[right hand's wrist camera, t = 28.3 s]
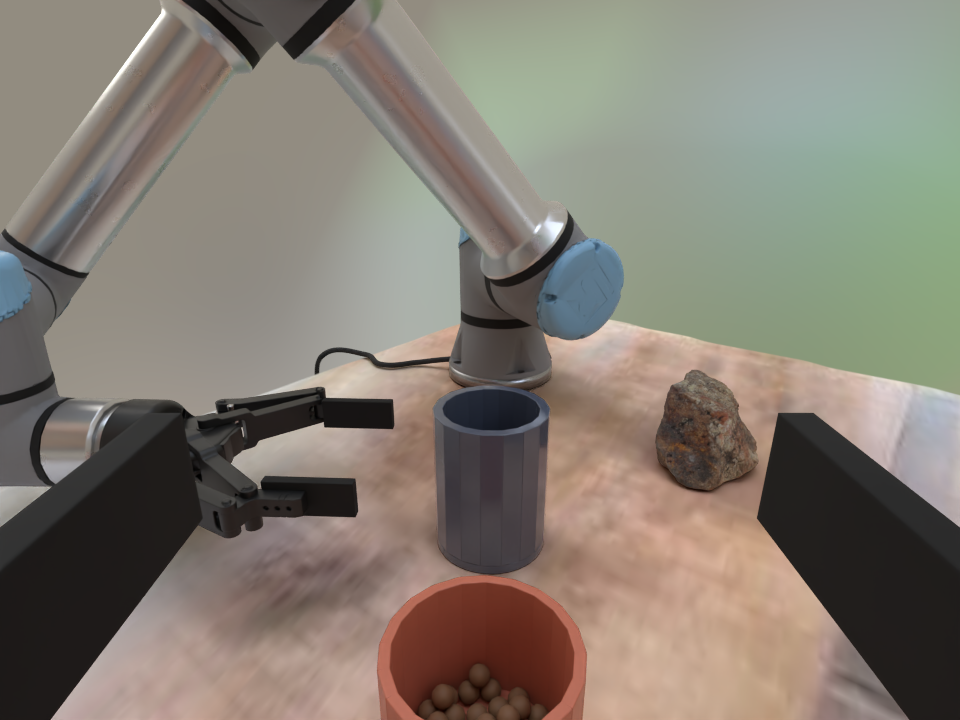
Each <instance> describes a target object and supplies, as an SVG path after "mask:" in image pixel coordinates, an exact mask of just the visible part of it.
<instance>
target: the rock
mask: <svg viewBox="0 0 960 720" xmlns="http://www.w3.org/2000/svg"><path fill="white" fill-rule="evenodd" d="M738 407H739V404H738V403H737V401H736V399H735V398H734V395H733V393H732V391H731V390H730V389H728V387H727V386H726V385H725V384H723V383H722V382H720V381H718V380H716V379H714V378H710V377H708V376H707V375H706V374H705V373H703V372H702V371H699V370H691V371H690V372H689V373H687V374H686V376H685V378H684V380H683V381H681V382H680V383H676V384H674V385H672V386H671V387H670V391H669V392H668V394H667V399H666V402H665V406H664V410H665V411H664V415H663V419H662V421H661V424H660V426H659V428H658V431H657V435H656V449H657V455H658V460H659V462H660V464H661V465H662V466H664V467H666V468H668V469H669V471H670V472H671V473H672V474H673V475H674V476H675V478H676V480H677V481H678V482H679V483H680V484H682V485H684V486H686V487H689V488H693V489H703V490H712V489H714V488H716V487H718V486H720V485H721V484H722V483H724V482H726V481H729V480H733V479H735V478H740V477H741V476H742V475H743V474H745V473H747V472H749V471H750V470H751V469H753V468H754V467H755V466H756V465H757V464H758V458H757V454H756V450H757V446H756V441H755V439H754V437H753V436H752V435H751V433H750V431H749V430H748V429H747V428H746V426H745V424H744V423H743V422H742V421H741V419H740V417H739V414H738Z"/></svg>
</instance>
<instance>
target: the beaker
mask: <svg viewBox="0 0 960 720" xmlns="http://www.w3.org/2000/svg"><path fill="white" fill-rule="evenodd" d="M549 425H550V408H549V406H548V405H547V403H546V402H545V400H544V399H542V398H540V397H539V396H537V395H536V394H534V393H531V392H528V391H525V390H522V389H519V388H513V387H506V386H475V387H468V388H462V389H459V390H456V391H453V392H450V393H448V394H446V395H445V396H443V397H442V398H440V399H439V400H438V401H437V402H436V404H435V405H434V407H433V434H434V465H435V497H436V528H437V541H438V546H439V548H440V550H441V552H442V554H443V555H444V556H445V557H446V558H447V559H448V560H449V561H450V562H452V563H453V564H455V565H456V566H458V567H461V568H463V569H466V570H468V571H472V572H476V573H483V574H499V573H506V572H511V571H514V570H517V569H520V568H522V567H524V566H526V565H527V564H529V563H531V562H532V561H533V560H534V559H535V558H536V557H537V556H538V555H539V553H540V551H541V549H542V547H543V542H544V530H545V509H546V488H547V467H548V446H549Z"/></svg>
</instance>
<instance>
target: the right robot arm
mask: <svg viewBox="0 0 960 720" xmlns="http://www.w3.org/2000/svg"><path fill="white" fill-rule="evenodd" d="M202 519H203V516H202V511H201V506H200V501H199V496H198V491H197V486H196V481H195V477H194V472H193V467H192V462H191V457H190V452H189V447H188V442H187V437H186V432H185V427H184V422H183V417H182V413H146V414H145V415H144V416H142V417H141V418H140V419H138V420H137V421H136V422H135V423H133V424H132V425H131V426H129V427H128V428H127V429H126V430H124V431H123V432H122V433H121V434H119V435H118V436H117V437H115V438H114V439H113V440H112V441H110V442H109V443H108V444H106V445H105V446H104V447H103V448H101V449H100V450H99V451H97V452H96V453H95V454H94V455H92V456H91V457H90V458H89V459H87V460H86V461H85V462H83V463H82V464H81V465H80V466H78V467H77V468H76V469H74V470H73V471H72V472H71V473H69V474H68V475H67V476H65V477H64V478H63V479H62V480H60V481H59V482H58V483H57V484H55V485H54V486H53V487H51V488H50V489H49V490H48V491H46V492H45V493H44V494H42V495H41V496H40V497H39V498H37V499H36V500H35V501H33V502H32V503H31V504H30V505H28V506H27V507H26V508H25V509H23V510H22V511H21V512H19V513H18V514H17V515H16V516H14V517H13V518H12V519H10V520H9V521H8V522H7V523H5V524H4V525H3V526H1V527H0V720H51V718H52V717H53V716H54V714H55V713H56V712H57V710H58V709H59V708H60V706H61V705H62V704H63V703H64V701H65V700H66V699H67V697H68V696H69V695H70V693H71V692H72V691H73V689H74V688H75V687H76V685H77V684H78V683H79V681H80V680H81V679H82V677H83V676H84V675H85V673H86V672H87V671H88V670H89V668H90V667H91V666H92V664H93V663H94V662H95V660H96V659H97V658H98V656H99V655H100V654H101V652H102V651H103V650H104V648H105V647H106V646H107V644H108V643H109V642H110V640H111V639H112V638H113V637H114V635H115V634H116V633H117V631H118V630H119V629H120V627H121V626H122V625H123V623H124V622H125V621H126V619H127V618H128V617H129V615H130V614H131V613H132V611H133V610H134V609H135V607H136V606H137V605H138V604H139V602H140V601H141V600H142V598H143V597H144V596H145V594H146V593H147V592H148V590H149V589H150V588H151V586H152V585H153V584H154V582H155V581H156V580H157V578H158V577H159V576H160V574H161V573H162V572H163V571H164V569H165V568H166V567H167V565H168V564H169V563H170V561H171V560H172V559H173V557H174V556H175V555H176V553H177V552H178V551H179V549H180V548H181V547H182V545H183V544H184V543H185V541H186V540H187V539H188V538H189V536H190V535H191V534H192V532H193V531H194V530H195V528H196V527H197V526H198V524H199V523H200V522H201V520H202ZM757 519H758V520H759V522H760V523H761V524H762V526H763V527H764V528H765V530H766V531H767V532H768V534H769V535H770V536H771V538H772V539H773V540H774V541H775V543H776V544H777V545H778V547H779V548H780V549H781V551H782V552H783V553H784V555H785V556H786V557H787V559H788V560H789V561H790V563H791V564H792V565H793V567H794V568H795V569H796V571H797V572H798V573H799V574H800V576H801V577H802V578H803V580H804V581H805V582H806V584H807V585H808V586H809V588H810V589H811V590H812V592H813V593H814V594H815V596H816V597H817V598H818V600H819V601H820V602H821V604H822V605H823V606H824V607H825V609H826V610H827V611H828V613H829V614H830V615H831V617H832V618H833V619H834V621H835V622H836V623H837V625H838V626H839V627H840V629H841V630H842V631H843V633H844V634H845V635H846V637H847V638H848V639H849V640H850V642H851V643H852V644H853V646H854V647H855V648H856V650H857V651H858V652H859V654H860V655H861V656H862V658H863V659H864V660H865V662H866V663H867V664H868V666H869V667H870V668H871V670H872V671H873V672H874V673H875V675H876V676H877V677H878V679H879V680H880V681H881V683H882V684H883V685H884V687H885V688H886V689H887V691H888V692H889V693H890V695H891V696H892V697H893V699H894V700H895V701H896V703H897V704H898V705H899V706H900V708H901V709H902V710H903V712H904V713H905V714H906V716H907V717H908V718H909V720H960V527H959V526H957V525H956V524H955V523H953V522H952V521H951V520H950V519H948V518H947V517H946V516H944V515H943V514H942V513H941V512H939V511H938V510H937V509H935V508H934V507H933V506H932V505H930V504H929V503H928V502H927V501H925V500H924V499H923V498H921V497H920V496H919V495H918V494H916V493H915V492H914V491H912V490H911V489H910V488H909V487H907V486H906V485H905V484H903V483H902V482H901V481H900V480H898V479H897V478H896V477H895V476H893V475H892V474H891V473H889V472H888V471H887V470H886V469H884V468H883V467H882V466H880V465H879V464H878V463H877V462H875V461H874V460H873V459H871V458H870V457H869V456H868V455H866V454H865V453H864V452H863V451H861V450H860V449H859V448H857V447H856V446H855V445H854V444H852V443H851V442H850V441H848V440H847V439H846V438H845V437H843V436H842V435H841V434H839V433H838V432H837V431H836V430H834V429H833V428H832V427H831V426H829V425H828V424H827V423H825V422H824V421H823V420H822V419H820V418H819V417H818V416H816V415H815V414H814V413H778V417H777V422H776V427H775V432H774V437H773V442H772V447H771V452H770V457H769V462H768V467H767V472H766V477H765V481H764V486H763V491H762V496H761V501H760V506H759V511H758V516H757Z"/></svg>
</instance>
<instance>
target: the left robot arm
mask: <svg viewBox="0 0 960 720" xmlns="http://www.w3.org/2000/svg"><path fill="white" fill-rule="evenodd" d="M160 4H161V9H162V12H161V15H160V16H159V17H158V19H157V20H156V21H155V23H154V24H153V26H152V27H151V28H150V30H149V31H148V32H147V34H146V35H145V36H144V38H143V39H142V41H141V42H140V43H139V45H138V46H137V47H136V49H135V50H134V52H133V53H132V54H131V56H130V57H129V58H128V60H127V61H126V63H125V64H124V65H123V67H122V68H121V69H120V71H119V72H118V74H117V75H116V76H115V78H114V79H113V80H112V82H111V83H110V84H109V86H108V87H107V89H106V90H105V91H104V93H103V94H102V95H101V97H100V98H99V99H98V101H97V102H96V104H95V105H94V106H93V108H92V109H91V110H90V112H89V113H88V115H87V116H86V117H85V119H84V120H83V121H82V123H81V124H80V126H79V127H78V128H77V130H76V131H75V132H74V134H73V135H72V137H71V138H70V139H69V141H68V142H67V143H66V145H65V146H64V147H63V149H62V150H61V152H60V153H59V154H58V156H57V157H56V158H55V160H54V161H53V163H52V164H51V165H50V167H49V168H48V169H47V171H46V172H45V174H44V175H43V176H42V178H41V179H40V180H39V182H38V183H37V185H36V186H35V187H34V189H33V190H32V191H31V193H30V194H29V195H28V197H27V198H26V200H25V201H24V202H23V204H22V205H21V206H20V208H19V209H18V210H17V212H16V213H15V215H14V216H13V217H12V219H11V220H10V222H9V223H8V224H7V226H6V227H5V229H4V230H3V232H2V233H1V234H0V486H52V487H53V486H54V485H55V484H57V483H58V482H59V481H60V480H62V479H63V478H64V477H65V476H67V475H68V474H69V473H71V472H72V471H73V470H74V469H76V468H77V467H78V466H80V465H81V464H82V463H83V462H85V461H86V460H87V459H89V458H90V457H91V456H92V455H94V454H95V453H96V452H97V451H99V450H100V449H101V448H103V447H104V446H105V445H106V444H108V443H109V442H110V441H112V440H113V439H114V438H115V437H117V436H118V435H119V434H121V433H122V432H123V431H124V430H126V429H127V428H128V427H129V426H131V425H132V424H133V423H135V422H136V421H137V420H138V419H140V418H141V417H142V416H144V415H145V414H146V413H182V417H183V422H184V427H185V432H186V437H187V442H188V447H189V452H190V457H191V462H192V467H193V472H194V477H195V481H196V486H197V491H198V496H199V501H200V506H201V511H202V516H203V519H202V520H201V522H200V523H199V524H198V525H199V526H201V527H203V528H205V529H207V530H209V531H211V532H214V533H216V534H218V535H220V536H222V537H224V538H233V537H236V536H238V535H239V534H240V533H241V526H242V525H243V524H244V523H245V527H246V530H247V531H256V530H258V529H260V528H261V527H262V526H263V519H262V517H294V518H295V517H300V516H331V517H356V515H357V513H358V503H357V492H356V480H355V479H352V478H316V477H281V476H265V477H264V478H263V479H262V481H261V488H262V489H258V488H257V485H256V484H255V483H254V482H253V481H252V480H250V479H249V478H248V477H246V476H245V475H244V474H243V473H241V472H240V471H239V470H238V469H236V468H235V467H234V466H233V465H231V462H232V460H233V458H234V457H235V456H236V455H238V454H239V453H240V452H241V451H242V450H246V449H249V448H253V447H255V446H256V445H257V443H258V441H259V440H262V439H266V438H269V437H273V436H276V435H280V434H283V433H287V432H290V431H294V430H297V429H301V428H304V427H308V426H311V425H315V424H318V423H322V422H324V427H330V428H371V429H393V427H394V410H393V399H352V398H326V395H325V388H323V387H316V388H309V389H302V390H296V391H289V392H283V393H276V394H270V395H263V396H256V397H250V398H244V399H221V400H218V401H216V403H215V404H216V409H217V412H216V413H211V414H207V415H203V416H196V417H195V416H193V415H191V414H190V413H189V412H187V411H186V410H185V409H184V408H183V406H181V405H180V404H179V403H177V402H175V401H172V400H149V399H133V400H129V399H122V398H67V397H60V396H59V395H58V392H57V388H56V384H55V378H54V374H53V371H52V369H51V365H50V361H49V358H48V354H47V350H46V346H45V342H44V337H43V336H44V335H45V333H46V332H47V331H48V329H49V328H50V327H51V325H52V324H53V322H54V321H55V320H56V319H57V318H58V317H59V316H60V315H61V314H62V312H63V311H64V310H65V308H66V307H67V306H68V304H69V303H70V301H71V298H72V297H73V295H74V294H75V293H76V291H77V290H78V289H79V287H80V286H81V284H82V283H83V282H84V280H85V279H86V277H87V275H88V274H89V273H90V271H91V270H92V268H93V267H94V266H95V264H96V263H97V262H98V260H99V259H100V258H101V256H102V255H103V253H104V252H105V251H106V249H107V248H108V247H109V245H110V244H111V243H112V241H113V240H114V238H115V237H116V236H117V234H118V233H119V232H120V230H121V229H122V228H123V226H124V225H125V223H126V222H127V221H128V219H129V218H130V217H131V215H132V214H133V213H134V211H135V210H136V209H137V207H138V206H139V204H140V203H141V202H142V200H143V199H144V198H145V196H146V195H147V194H148V192H149V191H150V189H151V188H152V187H153V185H154V184H155V183H156V181H157V180H158V179H159V177H160V176H161V174H162V173H163V172H164V170H165V169H166V168H167V166H168V165H169V164H170V162H171V161H172V159H173V158H174V157H175V155H176V154H177V153H178V151H179V150H180V149H181V147H182V146H183V144H184V143H185V142H186V140H187V139H188V138H189V136H190V135H191V134H192V132H193V131H194V129H195V128H196V127H197V125H198V124H199V123H200V121H201V120H202V119H203V117H204V116H205V114H206V113H207V112H208V110H209V109H210V108H211V106H212V105H213V104H214V102H215V101H216V99H217V98H218V97H219V95H220V94H221V93H222V91H223V90H224V89H225V87H226V86H227V85H228V83H229V82H230V80H231V79H232V78H233V76H234V75H236V74H246V73H251V71H252V70H253V69H254V67H255V66H256V65H257V63H258V62H259V61H260V59H261V58H262V57H263V56H264V55H265V53H266V52H267V51H268V50H269V49H270V48H271V47H272V46H273V45H274V44H275V43H276V42H278V43H279V44H280V45H281V46H282V47H283V48H284V49H285V50H286V51H287V53H288V54H289V55H290V56H291V57H292V58H293V59H294V61H295V62H296V63H300V64H308V65H315V66H319V67H322V68H324V69H325V70H326V71H327V72H328V73H329V74H330V76H331V77H332V78H333V79H334V80H335V81H336V82H337V84H338V85H339V86H340V87H341V88H342V89H343V91H344V92H345V93H346V94H347V95H348V96H349V98H350V99H351V100H352V101H353V102H354V103H355V105H356V106H357V107H358V108H359V109H360V110H361V112H362V113H363V114H364V115H365V116H366V117H367V118H368V120H369V121H370V122H371V123H372V124H373V125H374V127H375V128H376V129H377V130H378V131H379V132H380V134H381V135H382V136H383V137H384V138H385V139H386V141H387V142H388V143H389V144H390V145H391V146H392V147H393V149H394V150H395V151H396V152H397V153H398V154H399V156H400V157H401V158H402V159H403V160H404V161H405V163H406V164H407V165H408V166H409V167H410V168H411V170H412V171H413V172H414V173H415V174H416V175H417V176H418V178H419V179H420V180H421V181H422V182H423V183H424V185H425V186H426V187H427V188H428V189H429V190H430V192H431V193H432V194H433V195H434V196H435V197H436V199H437V200H438V201H439V202H440V203H441V204H442V205H443V207H444V208H445V209H446V210H447V211H448V212H449V214H450V215H451V216H452V217H453V218H454V219H455V221H456V222H457V223H458V224H459V225H460V226H461V229H460V242H459V249H460V298H461V325H460V328H459V331H458V334H457V338H456V341H455V344H454V347H453V350H452V353H451V357H439V358H430V359H422V360H412V361H405V362H397V363H385V362H380V361H378V360H377V359H376V358H375V357H374V356H373V355H372V354H370V353H367V352H362V351H358V350H353V349H349V348H331V349H328V350H326V351H324V352H322V353H321V354H320V355H319V357H318V358H317V360H316V363H315V375H317V374H319V367H320V363H321V361H322V359H323V358H324V357H325V356H327V355H328V354H331V353H335V352H345V353H351V354H355V355H359V356H364V357H368V358H369V359H370V360H371V361H372V362H373V363H374V364H375V365H377V366H380V367H386V368H396V367H404V366H411V365H420V364H429V363H438V362H449V374H450V377H451V378H452V379H453V380H454V381H455V382H457V383H458V384H460V385H463V386H465V387H475V386H506V387H513V388H519V389H522V390H528V389H532V388H535V387H538V386H540V385H542V384H544V383H545V382H547V381H548V380H549V379H550V377H551V368H552V361H551V359H552V358H551V356H550V353H549V351H548V348H547V344H546V341H545V337H544V334H543V332H544V333H545V334H547V335H549V336H551V337H558V338H561V339H564V340H577V339H583V338H585V337H588V336H590V335H591V334H593V333H595V332H596V331H597V330H599V329H600V328H601V327H602V326H603V325H604V324H605V323H606V322H607V321H608V319H609V318H610V317H611V315H612V314H613V312H614V311H615V309H616V307H617V305H618V302H619V300H620V297H621V295H620V291H621V289H622V287H623V282H624V273H623V266H622V262H621V260H620V258H619V256H618V254H617V253H616V251H615V250H614V249H613V248H612V247H611V246H609V245H607V244H605V243H604V242H602V241H601V240H599V239H594V238H588V237H587V236H585V235H584V233H583V232H582V231H581V229H580V228H579V226H578V225H577V224H576V222H575V221H574V219H573V218H572V217H571V215H570V214H569V212H568V211H567V209H566V208H565V207H564V206H563V205H562V204H561V203H560V202H556V201H543V200H542V199H541V198H540V197H539V195H538V194H537V193H536V191H535V190H534V188H533V187H532V186H531V184H530V183H529V182H528V180H527V179H526V178H525V176H524V175H523V173H522V172H521V171H520V169H519V168H518V166H517V165H516V164H515V162H514V161H513V160H512V158H511V157H510V155H509V154H508V153H507V151H506V150H505V149H504V147H503V146H502V144H501V143H500V142H499V140H498V139H497V138H496V136H495V135H494V133H493V132H492V131H491V129H490V128H489V127H488V125H487V124H486V122H485V121H484V120H483V118H482V117H481V116H480V114H479V113H478V111H477V110H476V109H475V107H474V106H473V105H472V103H471V102H470V100H469V99H468V98H467V96H466V95H465V94H464V92H463V91H462V89H461V88H460V87H459V85H458V84H457V83H456V81H455V80H454V78H453V77H452V76H451V74H450V73H449V72H448V70H447V69H446V67H445V66H444V65H443V63H442V62H441V61H440V59H439V58H438V56H437V55H436V54H435V52H434V51H433V50H432V48H431V47H430V45H429V44H428V43H427V41H426V40H425V39H424V37H423V36H422V34H421V33H420V32H419V30H418V29H417V28H416V26H415V25H414V23H413V22H412V21H411V19H410V18H409V17H408V15H407V14H406V12H405V11H404V10H403V8H402V7H401V5H400V4H399V3H398V1H397V0H160ZM241 427H243V431H244V437H243V434H242V429H241Z"/></svg>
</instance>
